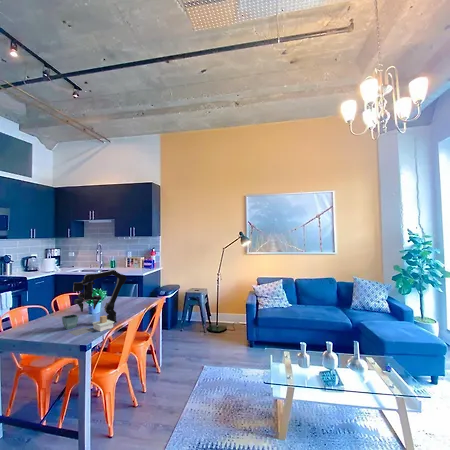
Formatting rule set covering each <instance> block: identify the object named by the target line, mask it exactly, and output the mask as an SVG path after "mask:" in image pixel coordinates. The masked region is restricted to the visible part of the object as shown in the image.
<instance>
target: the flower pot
mask: <svg viewBox="0 0 450 450" xmlns="http://www.w3.org/2000/svg"><path fill="white" fill-rule="evenodd" d="M61 320H62V321H61V322H62V325H63V328H65V329H66V330H72V329H76V327H77V325H78V323H79V315H76V314H69V315H65V316H61Z"/></svg>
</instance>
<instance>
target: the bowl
mask: <svg viewBox="0 0 450 450" xmlns="http://www.w3.org/2000/svg"><path fill="white" fill-rule="evenodd" d="M92 325H93V326H92V327H93V328H92V330H94V331H98V332H103V331H107V330H110V329H113V328H114V323H112V324H108V325H105V326H101V327H100V326H97V325H94V324H92Z"/></svg>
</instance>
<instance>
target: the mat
mask: <svg viewBox="0 0 450 450" xmlns="http://www.w3.org/2000/svg"><path fill="white" fill-rule="evenodd" d="M94 331H95V329H93V328H92V329H91V328H89V327H86V326H85V327H82V328H77V329H74V330H70V331H68V332H67V333H68V334H70V335H73V336H75V337H77V336H80V335H84V334H87V333H90V332H94Z"/></svg>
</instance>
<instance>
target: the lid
mask: <svg viewBox="0 0 450 450" xmlns="http://www.w3.org/2000/svg"><path fill="white" fill-rule="evenodd" d="M112 323H113V324H115V323H114V321H110V320H107V315H101V316H99V321H94V322H92V325H93V324H94V325H97V326H100V327H101V326H105V325H108V324H112Z"/></svg>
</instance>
